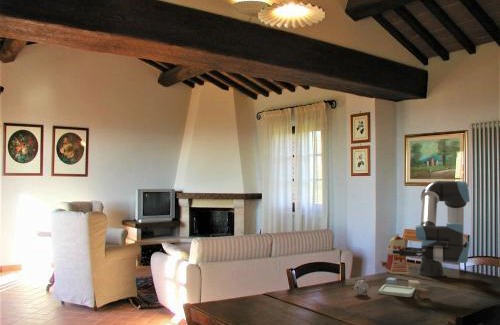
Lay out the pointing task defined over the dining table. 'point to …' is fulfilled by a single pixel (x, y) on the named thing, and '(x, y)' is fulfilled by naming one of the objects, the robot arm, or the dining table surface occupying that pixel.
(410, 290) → the tray
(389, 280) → the slate-blue brick
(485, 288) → the dining table surface
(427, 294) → the walnut brick
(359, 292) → the game die
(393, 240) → the milk carton
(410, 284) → the maple brick
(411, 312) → the dining table surface
